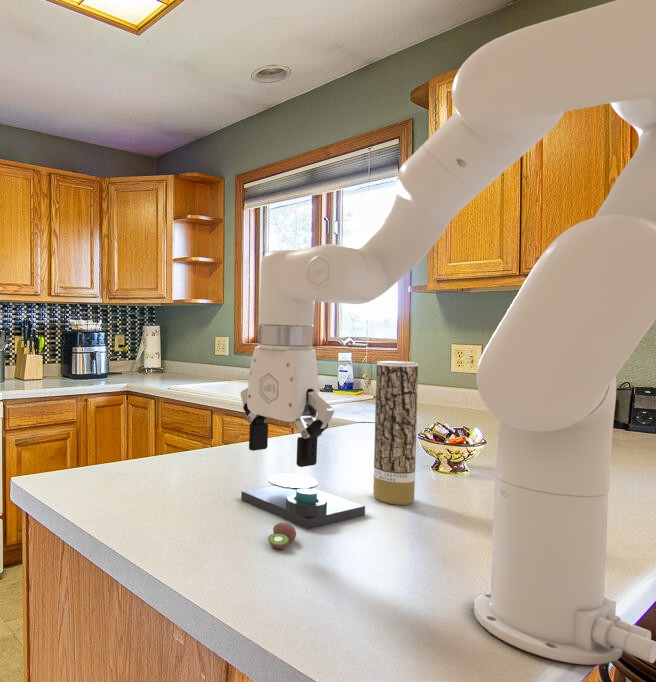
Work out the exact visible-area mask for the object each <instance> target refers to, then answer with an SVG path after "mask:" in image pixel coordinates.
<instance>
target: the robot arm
mask: <svg viewBox="0 0 656 682" xmlns="http://www.w3.org/2000/svg"><path fill="white" fill-rule="evenodd" d="M451 102H452V105H453V107H454V109H455V111H454V112H452V114H451V115H450V116H449V117H448V118H447V120H446V121H445V122H444V123H442V124H441V125H440V126H439V128H437V130H435V132H433V134H432V135H431V136H430V137H428V139H426V140H425V142H424V143H423V144H422V145H420V147H419V148H418V149H417V150H415V151H414V153H413V154H411V155H410V156H409V157H408V158H407V159H406V161H404V162H403V163H402V165H401V166H400V168H399V170H398V172H397V178H396V191H395V192H396V193H395V199H394V203H393V206H392V208H391V210H390V212H389V213H388V215H387V217H386V218H385V220H384V221H383V222H382V223H381V225H380V226H378V228H377V229H376V230H375V231H374V232H373V233H372V234H370V236H368V238H366V239H365V240H364V241H363V242H362V243H361V244H360V245H359V246H358V247H353V246H347V245H342V244H336V243H327V244H320V245H316V246H312V247H308V248H303V249H280V250H271V251H268V252H266V253H265V254H264V255H263V257H262V259H261V264H260V285H259V315H258V330H257V337H258V338H257V339H258V340H257V341H258V342H257V343H258V344H257V346H256V345H255V346H254V350H253V352H252V357H251V361H250V369H249V376H248V385H247V388H245V389H243V390H242V391H240V397H241V401H242V404H243V408H242V409H243V411H244V413H245V415H246V422H247V423H248V424H249V432H248V450H249V451H253V452H254V451H261V450H266V449H268V444H269V443H268V442H269V422H266V420H267V419H268V418H269V419H274V420H278V421H281V422H285V423H286V422H287V423H290V422H291V423H292V422H294V424H295V426H296V428H297V430H298V432H299V434H300V436H298V437H297V439H296V466H297V467H299V468H305V467H311V466H315V465H316V464H317V462H318V461H317V459H318V458H317V457H318V438H320V437H322V436H323V432H324V431H325V430H327V429H328V427H329V423H330V422H331V419H332V417H333V415H334V413H335V410H334V408H333V407H332V406H331V405H330V404H328V403H327V401H325V400H324V399H323V398H322V397H321V396H320V395H319V394H320V393H319V371H318V370H319V369H318V362H317V355H316V350H315V349H313V347H314V346H313V345H314V319H315V302H320V303H328V304H351V305H361V304H366V303H370V302H372V301H373V300H376V299H378V298H379V297H380V296H382V295H383V294H385V293H386V292H387V291H388V290H390V289H391V288H392V287H393V286H395V284H396V283H399V281H400V280H401V279H402V278H403V277H405V276H406V275H407V274H409V272H411V271H412V270H413V269H415V267H416V266H417V265H418V264H419V263H420V262H421V261H422V260H423V259H424V258H425V257H426V256H427V254H428V253H429V252H430V251H431V250H432V248H433V247H434V246H435V245H436V243H437V242H438V240H439V239H440V238H441V237H442V236H443V234H444V233H445V231H446V230H447V229H448V227H449V225H450V224H451V222H452V220H453V219H454V218H455V217H456V215H458V213H460V212H461V211H462V210H463V209H464V208H465V207H467V206H468V205H469V204H470V203H471V202H472V201H473V200H474V199H475V198H476V197H478V196H479V195H480V194H481V193H482V192H483V191H484V190H485V189H486V188H487V187H489V186H490V185H491V184H493V182H494V181H495V180H497V179H498V178H499V177H500V176H501V175H502V174H503V173H505V171H507V170H508V169H509V168H510V167H511V166H513V165H514V164H515V163H516V162H517V161H518V160H520V159H521V158H522V157H523V156H524V155H525V154H526V153H527V152H528V151H530V150H531V149H532V148H533V147H534V146H535V145H537V144H538V143H539V142H540V141H541V140H542V139H543V138H544V137H546V135H548V134H549V132H550V131H552V129H554V127H555V126H556V125H557V124H558V122H559V121H561V119H562V117H563V116H564V114H565V112H570V111H577V110H581V109H587V108H593V107H598V106H602V105H608V104H609V105H611V108H612V109H613V110H614V112H615V113H616V114H617V115H618V116H619V117H620V118H621V119H622V120H624V121H625V122H627V123H628V124H629V125H630V126H631V127H633V128H634V129H635V131H636V132H637V135H638V145H637V148H636V150H635V152H634V154H633V155H632V157H631V158H630V159H629V161H628V162H627V164H626V165H625V166H624V167H623V169H622V170H621V172H620V174H619V175H618V177H617V178H616V179H615V181H614V184H613V186H612V188H611V189H610V191H609V193H608V194H607V196H606V198H605V200H604V201H603V203H602V204H601V206H600V208H599V209H598V211H597V212H596V214H595V215H594V216H593V217H592V218H588V219H586V220H582V221H580V222H578V223H576V224H574V225H573V226H571V227H569V228H567V229H566V230H564V231H563V232H562V233H560V234H559V235H557V237H556V238H555V239H554V240H553V241H552V242H551V243H549V245H548V246H547V248H546V249H544V251H543V253H542V254H541V255H540V256H539V258H538V259H537V261H536V262H535V264H534V265H533V267H532V269H531V271H530V272H529V274H528V276H527V277H526V279H525V280H524V283H523V284H522V285H521V288H520V289H519V291H518V292H517V294H516V295H515V297H514V299H513V301H512V303H511V304H510V306H509V308H508V309H507V311H506V313H505V314H504V316H503V318H502V319H501V321H500V323H499V324H498V326H497V328H496V329H495V331H494V333H493V334H492V336H491V338H490V340H489V341H488V343H487V345H486V347H485V348H484V350H483V352H482V355H481V356H480V359H479V361H478V365H477V369H476V385H477V386H476V388H477V391H478V394H479V396H480V398H481V401H482V402H483V404H484V406H485V407H486V408H487V410H489V412H490V413H491V414H492V415H493V416H494V417H496V418H497V419H498V420H499V422H498V430H497V437H496V450H495V451H496V452H495V472H494V473H495V474H494V489H493V491H494V494H493V495H494V496H493V522H492V523H493V524H492V549H491V550H492V551H491V579H490V581H491V583H490V591H487V592H484V593H482V594H479V595H477V597H476V598H474V602H473V614H474V617H475V619H476V620H477V622H478V623H479V624H480V625H481V626H482V627H483V628H484V629H485V630H487V631H488V632H489V633H490V634H492V635H493V636H495V637H497V639H499V640H502V641H503V642H505V643H506V644H508V645H511V646H513V647H516V648H518V649H520V650H523V651H525V652H527V653H530V654H533V655H536V656H539V657H542V658H546V659H550V660H553V661H558V662H563V663H567V664H575V665H584V666H588V665H589V666H590V665H592V666H599V665H607V664H610V663H614V662H616V661H618V660H619V659H620V658H621V657H622V655H623V653H624V652H625V653H627V654H628V655H631V656H633V657H636V658H637V659H640V660H643V661H645V662H647V663H650V664H654V663H655V662H656V641H655V640H652V631H651V630H649V629H647V628H644V627H641V626H638V625H636V624H631V623H628V622H626V621H623V620H622V618H621V617H620V616H618V615H616V611H617V602H616V601H615V600H612V599H610V598H606V597H605V585H606V584H605V582H606V581H605V580H606V558H607V557H606V556H607V534H608V532H607V531H608V513H609V512H608V509H609V507H608V506H609V493H610V483H611V482H610V481H611V463H612V462H611V461H612V444H613V431H614V421H615V411H616V402H617V401H616V400H617V375H618V373H619V372H620V371H621V369H622V368H623V366H624V365H625V364H626V362H627V361H628V360H629V359H630V357H631V355H632V354H633V352H634V351H635V349H636V348H637V347H638V345H639V344H640V342H641V341H642V340H643V339H644V337H645V335H646V334H647V333H648V331H649V330H650V328H651V327H652V326H653V324H654V323H655V321H656V0H613V1H609V2H607V3H602V4H599V5H597V6H592V7H589V8H586V9H582V10H578V11H575V12H571V13H568V14H565V15H561V16H558V17H555V18H551V19H547V20H545V21H541V22H539V23H535V24H531V25H529V26H526V27H522V28H519V29H516V30H514V31H511V32H508V33H506V34H504V35H501V36H499V37H497V38H494V39H492V40H491V41H489V42H487V43H485V44H483V45H482V46H480V47H479V48H478V49H476V51H474V52H472V54H471V55H469V56H468V58H467V59H466V60H464V62H463V63H462V65H461V66H460V67H459V68H458V70H457V72H456V74H455V77H454V78H453V82H452V86H451Z"/></svg>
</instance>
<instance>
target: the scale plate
mask: <svg viewBox="0 0 656 682" xmlns="http://www.w3.org/2000/svg"><path fill="white" fill-rule="evenodd" d="M268 483H269V484H270V485H271V486H273V485H274V486H277V487H281V488H286V489H294V490H297V489H301V488H306V489H312V488H315V489H316V488H317V486H318V481H317V480H316V479H315V478H313V477H310V476H305V475H302V474H293V473H279V474H273V475H270V476H269V477H268Z"/></svg>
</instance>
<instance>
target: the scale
mask: <svg viewBox="0 0 656 682" xmlns="http://www.w3.org/2000/svg"><path fill="white" fill-rule="evenodd" d="M312 490H315V491H316V492H317V503H314V504H306V503H300V502H298V501H296V490H294V489H286V488H281V487H277V486H274V485H267V486H263V487H257V488H251V489H247V490H241V495H240V496H241V498H240V499H241V501H243V502H244V503H247V504H249V505H251V506H254V507H256V508H258V509H260V510H263V511H265V512H267V513H270V514H272V515H273V516H274V515H275V516H277V517H278V518H280V519H284V520H285V521H288V522H291V523H293V524H295V525H297V526H299V527H301V528H304V529H306V530H313V529H317V528H321V527H325V526H330V525H333V524H337V523H341V522H345V521H349V520H354V519H357V518H361V517H365V516H366V505H363V504H361V503H357V502H354V501H352V500H350V499H346V498H344V497H340V496H337V495H336V494H332V493H329V492H326V491H323V490H320V489H317V488H316V487H315V488H312Z"/></svg>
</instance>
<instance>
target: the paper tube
mask: <svg viewBox="0 0 656 682" xmlns="http://www.w3.org/2000/svg"><path fill="white" fill-rule="evenodd" d="M376 362H377V363H376V370H375V371H376V372H375V408H374V409H375V411H374V446H373V447H374V449H373V452H374V453H373V488H372V489H373V493H372V494H373V497H374V498H375V500H377V501H379V502H381V503H385V504H387V505H388V504H389V505H395V506H407V505H410V504H412V503H413V502H414V501H415V486H416V459H417V458H416V457H417V455H416V454H417V425H418V424H417V423H418V394H419V393H418V387H419V386H418V385H419V363H418V362H415V361H404V360H403V361H402V360H401V361H400V360H378V361H376Z"/></svg>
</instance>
